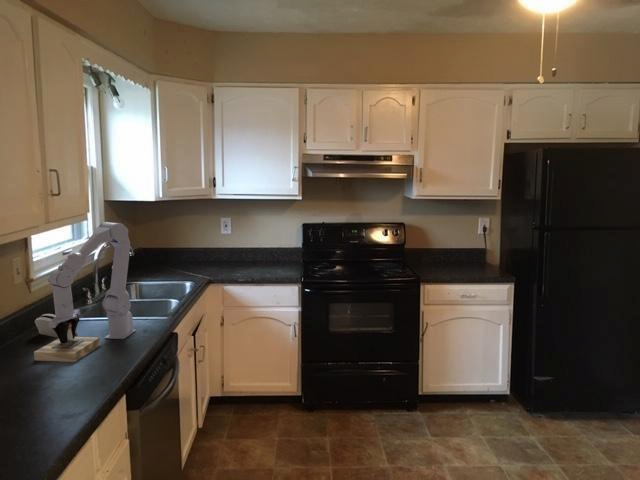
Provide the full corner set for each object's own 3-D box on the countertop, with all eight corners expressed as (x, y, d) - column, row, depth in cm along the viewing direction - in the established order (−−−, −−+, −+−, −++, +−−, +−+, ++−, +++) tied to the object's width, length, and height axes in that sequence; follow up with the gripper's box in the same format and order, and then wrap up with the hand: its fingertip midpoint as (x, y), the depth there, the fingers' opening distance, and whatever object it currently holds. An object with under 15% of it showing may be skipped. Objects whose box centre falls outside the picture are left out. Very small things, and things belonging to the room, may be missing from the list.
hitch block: (63, 344, 184) (62, 335, 183) (100, 345, 182) (99, 336, 181) (34, 360, 169) (33, 351, 168) (75, 361, 167) (74, 352, 166)
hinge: (79, 335, 193) (68, 314, 188) (69, 343, 189) (58, 322, 185) (51, 329, 200) (40, 309, 196) (41, 337, 197) (30, 316, 192)
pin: (67, 344, 177) (64, 322, 176) (77, 344, 176) (74, 322, 175) (60, 348, 173) (57, 325, 172) (70, 348, 172) (67, 325, 171)
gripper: (60, 310, 165) (64, 348, 167) (86, 298, 179) (90, 333, 181) (41, 309, 166) (45, 348, 168) (68, 297, 180) (72, 333, 182)
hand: (67, 340), depth 175 cm, fingers closed on pin, 3 cm apart
